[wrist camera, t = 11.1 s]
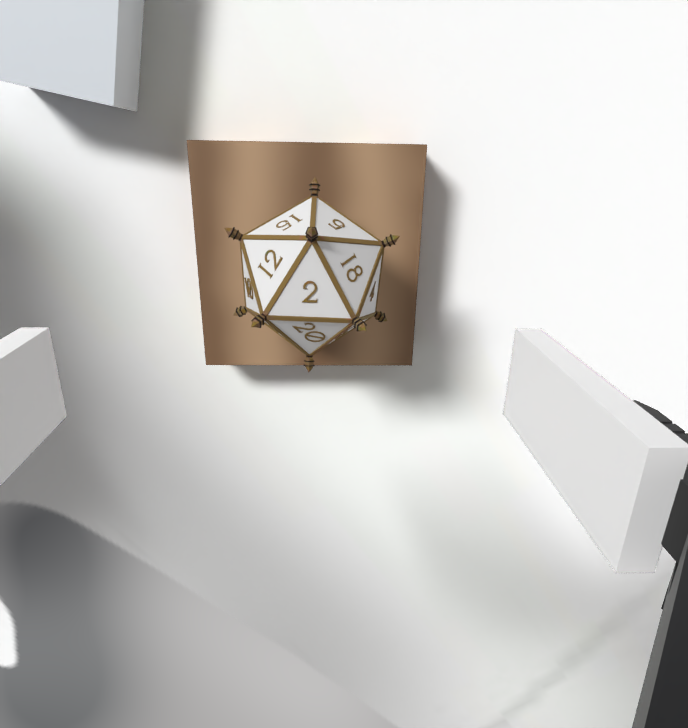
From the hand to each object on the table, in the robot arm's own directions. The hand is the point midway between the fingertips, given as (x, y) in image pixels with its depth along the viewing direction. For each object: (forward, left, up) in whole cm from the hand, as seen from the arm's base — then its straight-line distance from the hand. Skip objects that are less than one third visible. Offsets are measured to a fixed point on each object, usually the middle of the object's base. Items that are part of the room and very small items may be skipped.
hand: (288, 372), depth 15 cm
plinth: (0, 0, -20) cm, 20 cm away
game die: (0, 0, -17) cm, 17 cm away
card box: (-12, +13, -20) cm, 27 cm away
